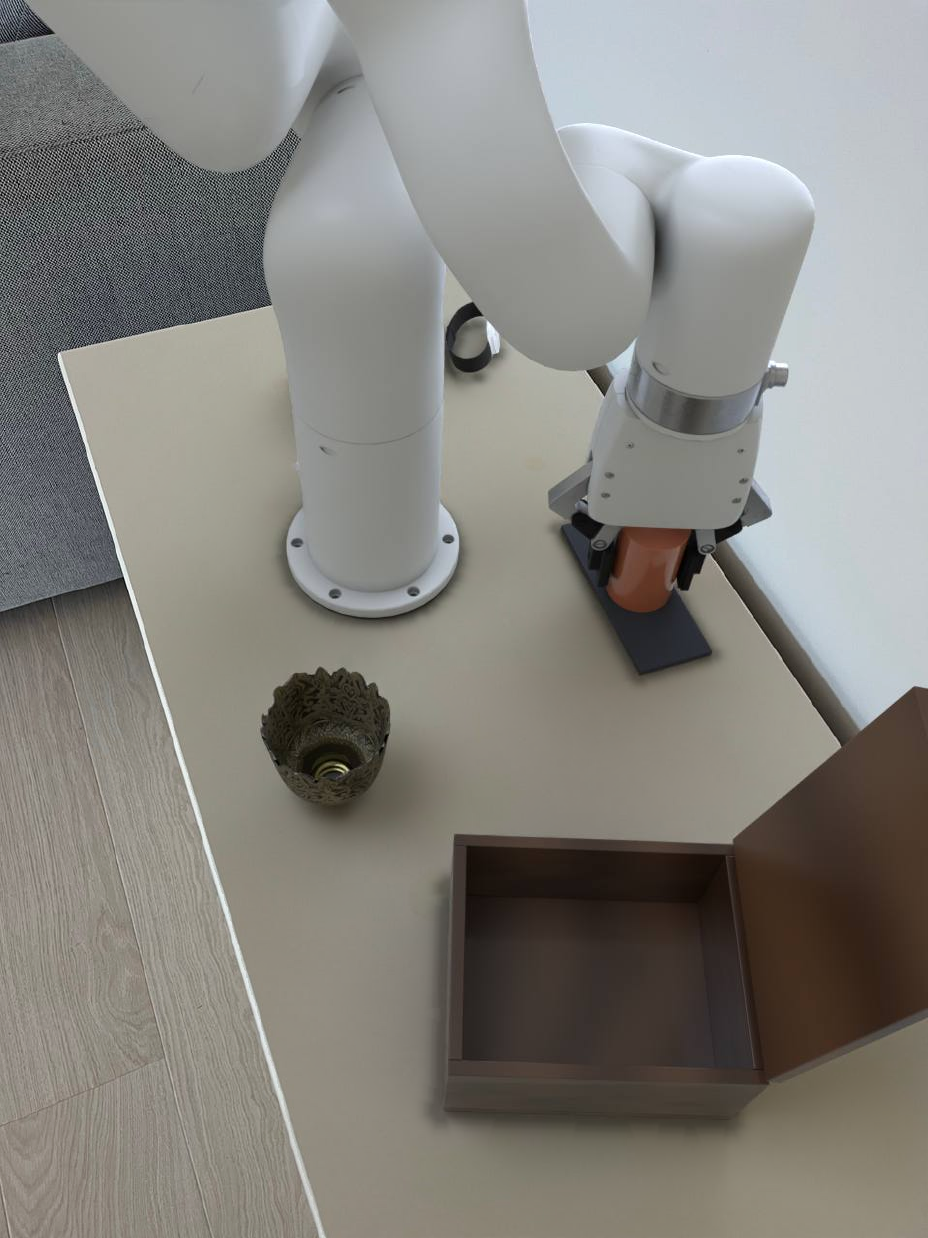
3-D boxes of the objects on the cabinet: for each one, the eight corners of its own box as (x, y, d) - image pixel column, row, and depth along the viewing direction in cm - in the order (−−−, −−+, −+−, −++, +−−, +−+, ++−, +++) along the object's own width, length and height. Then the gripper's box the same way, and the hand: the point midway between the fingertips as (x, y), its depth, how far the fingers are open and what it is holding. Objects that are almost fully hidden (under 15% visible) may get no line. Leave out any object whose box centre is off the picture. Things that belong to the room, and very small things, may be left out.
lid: (993, 979, 38) (1012, 981, 39) (914, 685, 46) (930, 688, 46) (765, 1082, 51) (780, 1083, 51) (731, 839, 58) (745, 841, 58)
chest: (443, 1111, 57) (447, 1075, 51) (449, 888, 65) (454, 833, 58) (731, 1120, 58) (770, 1085, 51) (704, 897, 65) (736, 843, 59)
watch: (496, 381, 91) (499, 347, 88) (440, 376, 91) (442, 342, 88) (501, 322, 96) (504, 288, 93) (449, 318, 96) (450, 283, 93)
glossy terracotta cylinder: (674, 614, 77) (695, 551, 71) (607, 611, 77) (623, 548, 71) (665, 545, 81) (685, 480, 75) (602, 542, 81) (616, 477, 75)
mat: (560, 528, 82) (561, 525, 81) (627, 511, 83) (627, 508, 83) (639, 675, 74) (640, 672, 74) (711, 654, 75) (712, 651, 75)
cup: (308, 716, 71) (298, 647, 65) (410, 756, 70) (411, 690, 63) (253, 811, 67) (236, 747, 60) (360, 855, 65) (355, 795, 59)
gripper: (828, 342, 65) (751, 538, 80) (545, 329, 65) (520, 529, 79) (852, 429, 60) (766, 620, 75) (548, 417, 60) (522, 611, 75)
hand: (641, 571), depth 77 cm, fingers open, 5 cm apart
